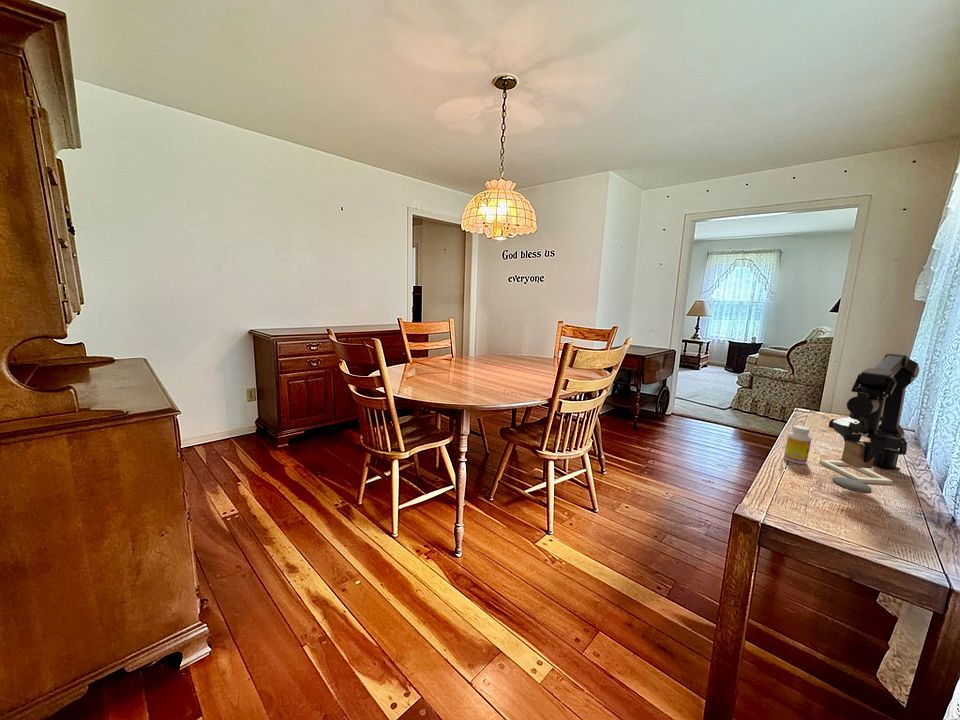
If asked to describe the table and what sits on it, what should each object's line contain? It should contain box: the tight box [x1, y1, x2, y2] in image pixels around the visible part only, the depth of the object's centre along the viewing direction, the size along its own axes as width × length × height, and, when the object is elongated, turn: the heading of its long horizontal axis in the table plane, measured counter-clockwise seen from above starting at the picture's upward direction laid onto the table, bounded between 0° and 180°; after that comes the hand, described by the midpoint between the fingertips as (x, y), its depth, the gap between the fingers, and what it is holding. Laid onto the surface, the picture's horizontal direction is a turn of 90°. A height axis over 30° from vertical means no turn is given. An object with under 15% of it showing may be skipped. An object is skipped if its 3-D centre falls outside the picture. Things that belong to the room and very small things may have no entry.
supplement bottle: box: [783, 424, 812, 465], centre depth 140 cm, size 7×7×13 cm
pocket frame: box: [819, 459, 893, 485], centre depth 133 cm, size 11×15×1 cm
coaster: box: [832, 476, 872, 493], centre depth 124 cm, size 9×9×1 cm
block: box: [840, 440, 874, 470], centre depth 122 cm, size 5×5×7 cm
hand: (857, 458), depth 122 cm, fingers closed on block, 5 cm apart
